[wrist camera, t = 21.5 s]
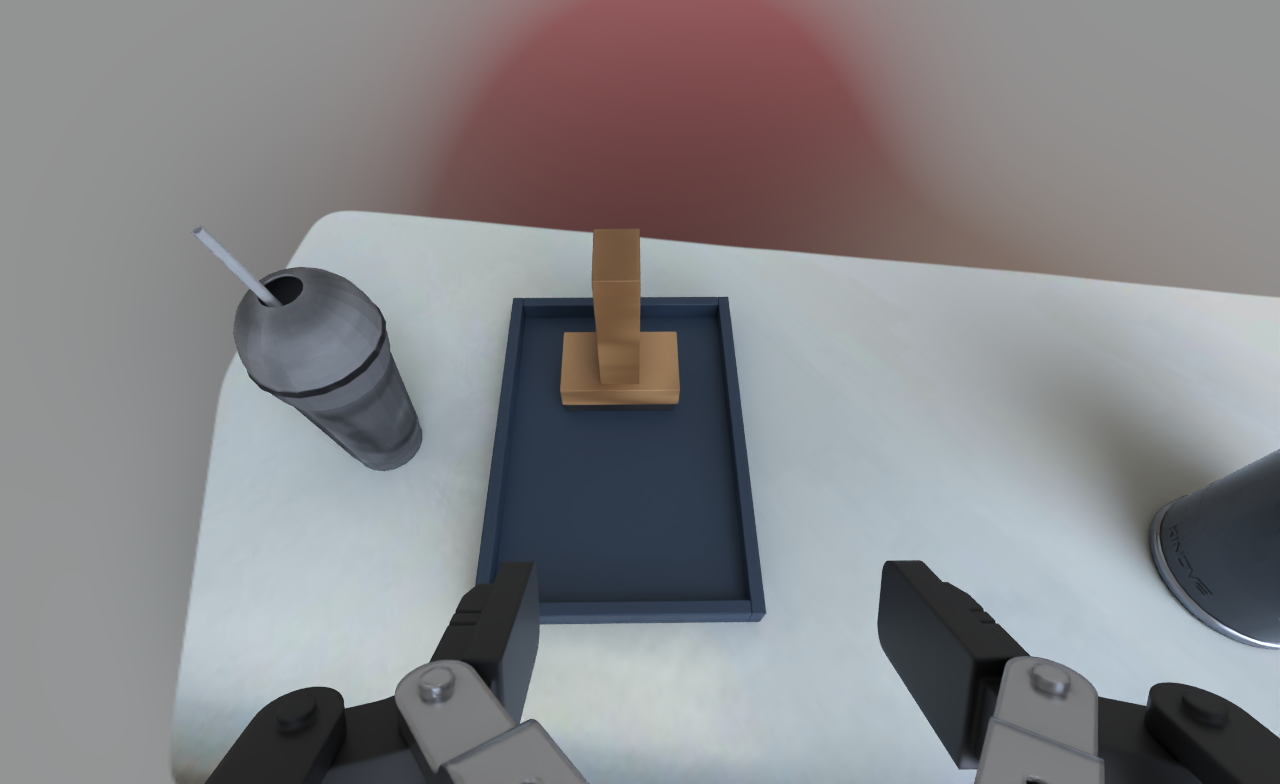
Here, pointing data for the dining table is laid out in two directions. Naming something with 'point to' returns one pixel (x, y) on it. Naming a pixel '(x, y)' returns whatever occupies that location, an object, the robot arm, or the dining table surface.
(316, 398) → the beverage cup
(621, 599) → the tray
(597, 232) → the wooden post on base
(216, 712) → the dining table surface
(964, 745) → the robot arm
